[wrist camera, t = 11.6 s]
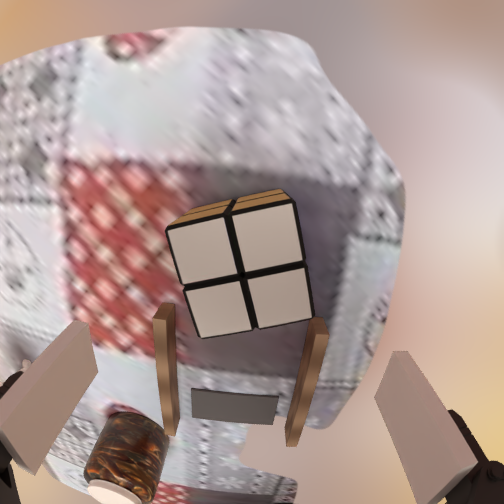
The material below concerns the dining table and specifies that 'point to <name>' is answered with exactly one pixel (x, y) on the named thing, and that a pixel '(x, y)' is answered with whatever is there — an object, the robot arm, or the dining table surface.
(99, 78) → the dining table surface
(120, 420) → the jar
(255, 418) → the pad
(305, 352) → the channel
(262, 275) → the puzzle cube
